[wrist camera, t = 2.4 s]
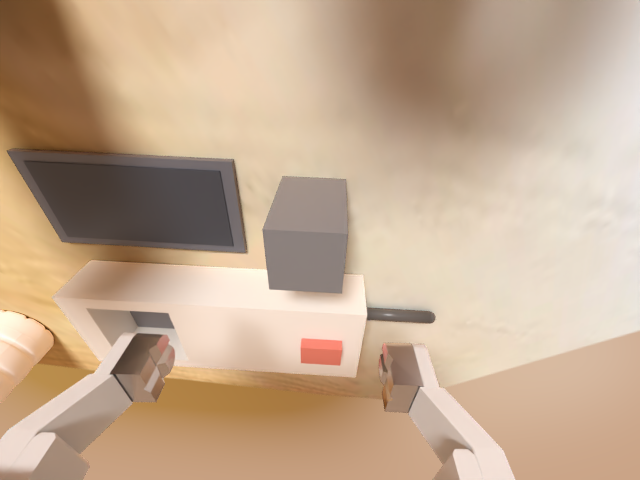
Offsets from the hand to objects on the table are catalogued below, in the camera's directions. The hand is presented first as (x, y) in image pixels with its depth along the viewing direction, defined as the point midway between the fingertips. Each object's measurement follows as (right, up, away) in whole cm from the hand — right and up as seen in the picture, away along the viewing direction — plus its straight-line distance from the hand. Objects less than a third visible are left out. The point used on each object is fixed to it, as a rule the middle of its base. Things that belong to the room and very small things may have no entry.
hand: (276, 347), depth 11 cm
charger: (+1, +6, +8) cm, 11 cm away
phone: (-11, +7, +10) cm, 16 cm away
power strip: (-3, -1, +14) cm, 15 cm away
